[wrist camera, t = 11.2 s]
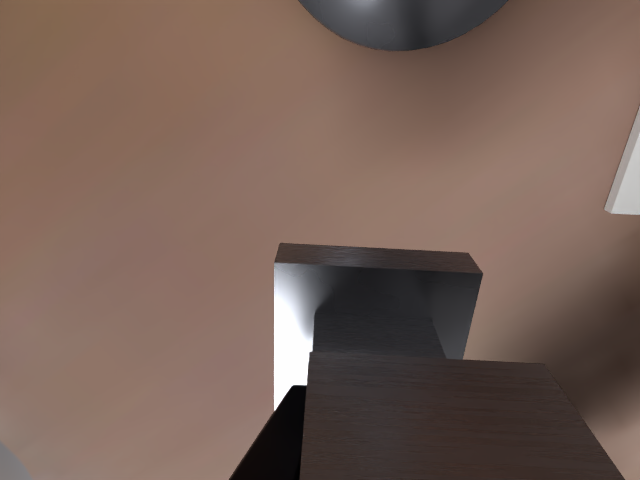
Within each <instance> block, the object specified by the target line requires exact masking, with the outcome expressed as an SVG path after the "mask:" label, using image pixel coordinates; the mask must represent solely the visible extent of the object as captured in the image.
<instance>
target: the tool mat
mask: <svg viewBox="0 0 640 480" xmlns="http://www.w3.org/2000/svg"><path fill="white" fill-rule="evenodd" d="M604 210H606V211H607V212H609V213H613V214H632V215H640V107H639V110H638V113H637V116H636V119H635V121H634V124H633V127H632V130H631V133H630V136H629V139H628V142H627V145H626V147H625V150H624V153H623V156H622V159H621V162H620V165H619V168H618V170H617V173H616V176H615V179H614V182H613V185H612V188H611V191H610V193H609V196H608V199H607V202H606V205H605V208H604Z"/></svg>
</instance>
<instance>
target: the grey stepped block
mask: <svg viewBox="0 0 640 480" xmlns="http://www.w3.org/2000/svg"><path fill="white" fill-rule="evenodd" d="M482 275H483V273H482V271H481V270H480V269H479V267H478V266H477V264H476V263H475V262H474V260H473V259H472V257H471V256H470V254H469V253H463V252H443V251H424V250H405V249H386V248H367V247H348V246H328V245H309V244H290V243H280V244H279V248H278V251H277V255H276V258H275V262H274V411H275V409H276V408H277V406H278V405H279V403H280V402H281V400H282V399H283V397H284V396H285V394H286V393H287V391H288V390H289V388H290V387H291V386H292V385H307V388H306V401H305V415H304V428H303V441H302V455H301V468H300V480H625V479H624V478H623V476H622V475H621V473H620V472H619V470H618V469H617V468H616V466H615V465H614V463H613V462H612V460H611V459H610V458H609V456H608V455H607V453H606V452H605V450H604V449H603V447H602V446H601V445H600V443H599V442H598V440H597V439H596V437H595V436H594V435H593V433H592V432H591V430H590V429H589V427H588V426H587V425H586V423H585V422H584V420H583V419H582V417H581V416H580V415H579V413H578V412H577V410H576V409H575V407H574V406H573V405H572V403H571V402H570V400H569V399H568V397H567V396H566V395H565V393H564V392H563V390H562V389H561V387H560V386H559V385H558V383H557V382H556V380H555V379H554V377H553V376H552V375H551V373H550V372H549V370H548V369H547V367H546V366H545V365H544V364H536V363H517V362H498V361H480V360H463V355H464V351H465V347H466V343H467V339H468V334H469V330H470V326H471V322H472V317H473V313H474V309H475V305H476V301H477V296H478V292H479V288H480V284H481V280H482Z"/></svg>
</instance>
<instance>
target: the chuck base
mask: <svg viewBox="0 0 640 480" xmlns="http://www.w3.org/2000/svg"><path fill="white" fill-rule="evenodd" d="M507 1H508V0H299V2H300V3H301V4H302V6H303V7H304V8H305V9H306V10H307V11H308V12H309V13H310V14H311V15H312V16H313V17H314V18H315V19H316V20H317V21H318V22H320V23H321V24H322V25H323V26H324V27H326V28H327V29H328V30H330V31H332V32H333V33H335V34H336V35H338V36H340V37H341V38H343V39H346V40H348V41H350V42H352V43H355V44H357V45H360V46H364V47H368V48H371V49H376V50H385V51H409V50H416V49H422V48H428V47H432V46H435V45H438V44H441V43H445V42H448V41H450V40H452V39H454V38H456V37H459V36H461V35H463V34H465V33H467V32H468V31H470V30H472V29H473V28H475V27H476V26H478V25H480V24H481V23H483V22H484V21H485V20H486V19H488V18H489V17H490V16H491V15H493V14H494V13H495V12H497V11H498V10H499V9H500V8H501V7H502V6H503V5H504V4H505V3H506V2H507Z"/></svg>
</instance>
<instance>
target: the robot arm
mask: <svg viewBox="0 0 640 480" xmlns="http://www.w3.org/2000/svg"><path fill="white" fill-rule="evenodd" d="M306 388H307V385H292V386H291V387H290V388H289V390H288V391H287V393H286V394H285V396H284V397H283V399H282V400H281V402H280V403H279V405H278V406H277V408H276V409H275V411H274V412H273V414H272V415H271V417H270V418H269V420H268V421H267V423H266V424H265V426H264V427H263V429H262V430H261V432H260V433H259V435H258V436H257V438H256V439H255V441H254V442H253V444H252V445H251V447H250V448H249V450H248V451H247V453H246V454H245V456H244V457H243V459H242V460H241V462H240V463H239V465H238V466H237V468H236V469H235V471H234V472H233V474H232V475H231V477H230V478H229V480H300V468H301V455H302V441H303V428H304V415H305V401H306Z"/></svg>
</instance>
